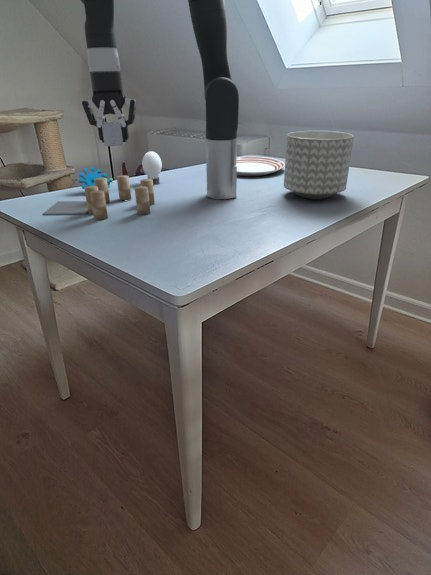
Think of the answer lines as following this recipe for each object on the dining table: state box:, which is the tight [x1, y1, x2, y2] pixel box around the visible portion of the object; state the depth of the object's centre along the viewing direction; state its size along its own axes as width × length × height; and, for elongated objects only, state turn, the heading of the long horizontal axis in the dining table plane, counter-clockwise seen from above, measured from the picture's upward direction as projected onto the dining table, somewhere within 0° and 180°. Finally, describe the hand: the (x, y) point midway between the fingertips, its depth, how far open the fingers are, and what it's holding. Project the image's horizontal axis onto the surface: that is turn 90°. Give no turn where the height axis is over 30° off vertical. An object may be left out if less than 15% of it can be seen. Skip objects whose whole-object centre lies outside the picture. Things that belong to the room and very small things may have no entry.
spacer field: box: [83, 174, 156, 221], centre depth 113 cm, size 18×22×7 cm
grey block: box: [101, 121, 126, 147], centre depth 105 cm, size 5×6×6 cm
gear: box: [78, 166, 114, 190], centre depth 131 cm, size 11×6×10 cm
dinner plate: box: [236, 156, 285, 177], centre depth 157 cm, size 28×27×3 cm
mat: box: [42, 200, 89, 216], centre depth 114 cm, size 12×12×1 cm
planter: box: [283, 130, 355, 200], centre depth 119 cm, size 19×19×18 cm
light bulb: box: [141, 150, 163, 186], centre depth 137 cm, size 7×7×11 cm
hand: (114, 141), depth 106 cm, fingers closed on grey block, 5 cm apart
